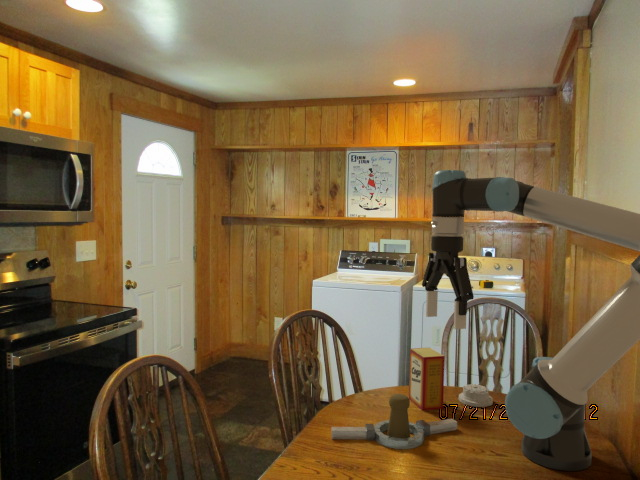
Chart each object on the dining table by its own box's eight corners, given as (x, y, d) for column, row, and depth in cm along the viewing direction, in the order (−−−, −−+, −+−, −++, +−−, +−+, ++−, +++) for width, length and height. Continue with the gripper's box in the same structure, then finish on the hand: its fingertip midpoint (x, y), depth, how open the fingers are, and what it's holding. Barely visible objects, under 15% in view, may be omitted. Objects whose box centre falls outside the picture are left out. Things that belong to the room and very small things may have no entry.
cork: (408, 444, 126) (409, 401, 126) (384, 440, 129) (385, 398, 128) (412, 434, 132) (413, 393, 131) (389, 431, 134) (390, 390, 134)
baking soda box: (408, 398, 157) (410, 347, 156) (428, 397, 159) (429, 346, 158) (422, 410, 148) (424, 356, 147) (443, 408, 150) (444, 354, 149)
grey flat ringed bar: (454, 426, 137) (455, 416, 137) (469, 449, 124) (470, 438, 124) (330, 425, 137) (330, 415, 137) (332, 448, 124) (332, 437, 124)
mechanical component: (458, 406, 152) (494, 409, 150) (459, 391, 152) (494, 394, 150) (458, 394, 162) (491, 397, 160) (458, 380, 162) (491, 383, 159)
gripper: (410, 232, 134) (408, 312, 136) (461, 238, 110) (458, 335, 112) (436, 232, 136) (433, 311, 138) (491, 238, 112) (488, 333, 114)
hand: (444, 322), depth 125 cm, fingers open, 13 cm apart
